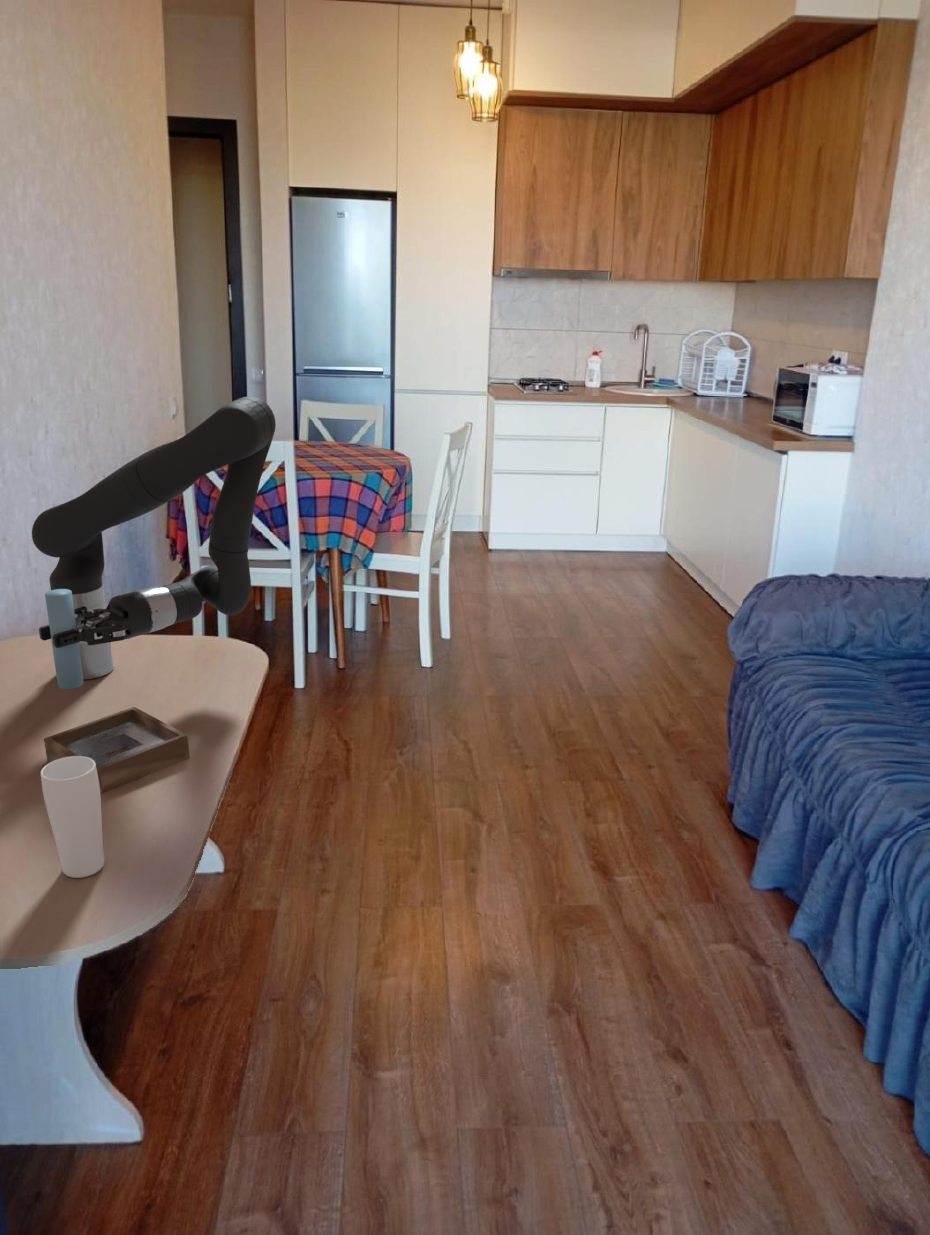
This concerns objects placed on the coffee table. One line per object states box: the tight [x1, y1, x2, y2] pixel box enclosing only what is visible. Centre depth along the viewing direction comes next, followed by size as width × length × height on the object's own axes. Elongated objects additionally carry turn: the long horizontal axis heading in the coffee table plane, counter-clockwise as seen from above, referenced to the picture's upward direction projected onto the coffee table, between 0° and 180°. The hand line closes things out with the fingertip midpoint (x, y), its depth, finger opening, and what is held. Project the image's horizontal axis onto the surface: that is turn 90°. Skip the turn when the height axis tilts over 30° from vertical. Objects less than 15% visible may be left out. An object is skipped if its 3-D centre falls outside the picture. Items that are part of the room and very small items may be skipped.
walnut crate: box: [43, 706, 190, 795], centre depth 160 cm, size 16×16×4 cm
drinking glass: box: [40, 756, 105, 879], centre depth 130 cm, size 7×7×15 cm
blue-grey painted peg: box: [44, 589, 84, 690], centre depth 163 cm, size 4×4×16 cm
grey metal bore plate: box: [61, 718, 172, 767], centre depth 161 cm, size 14×14×2 cm
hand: (47, 637), depth 161 cm, fingers closed on blue-grey painted peg, 4 cm apart
